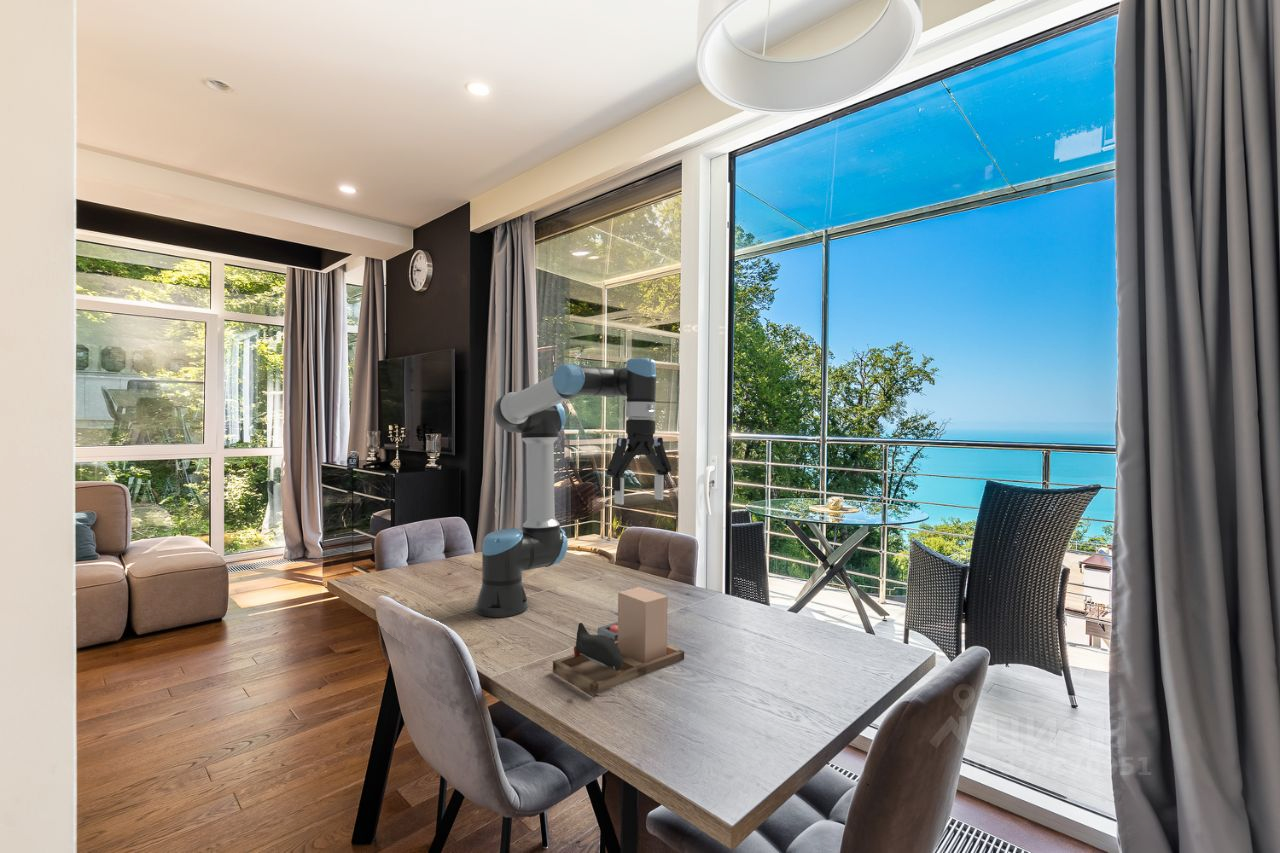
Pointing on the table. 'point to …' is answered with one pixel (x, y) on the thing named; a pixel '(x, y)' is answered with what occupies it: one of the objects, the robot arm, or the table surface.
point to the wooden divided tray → (608, 670)
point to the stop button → (614, 628)
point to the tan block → (642, 624)
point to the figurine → (598, 649)
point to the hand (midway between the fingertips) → (639, 501)
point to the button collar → (608, 631)
